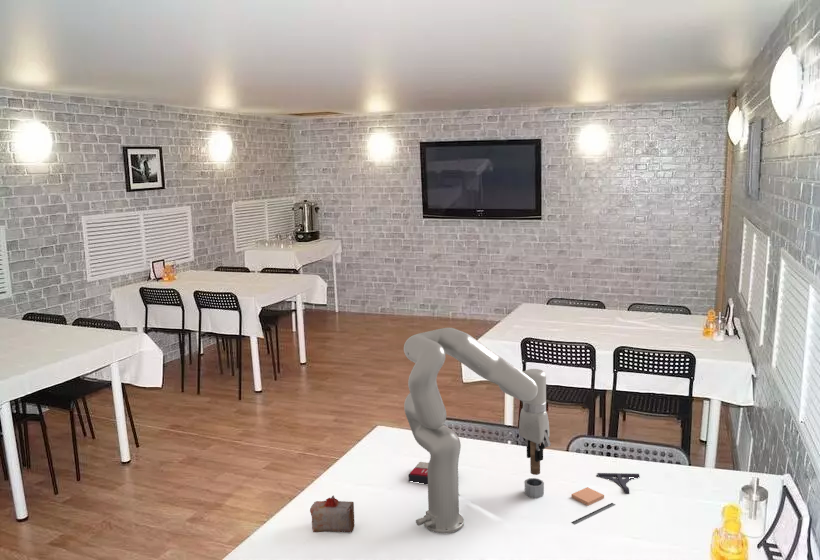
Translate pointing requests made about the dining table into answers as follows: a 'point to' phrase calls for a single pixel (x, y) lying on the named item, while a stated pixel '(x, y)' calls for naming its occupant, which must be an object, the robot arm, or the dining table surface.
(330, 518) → the food item
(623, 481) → the bracket
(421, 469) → the calculator
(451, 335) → the robot arm
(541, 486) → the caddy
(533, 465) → the rod
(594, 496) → the tile
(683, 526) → the dining table surface
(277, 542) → the dining table surface
